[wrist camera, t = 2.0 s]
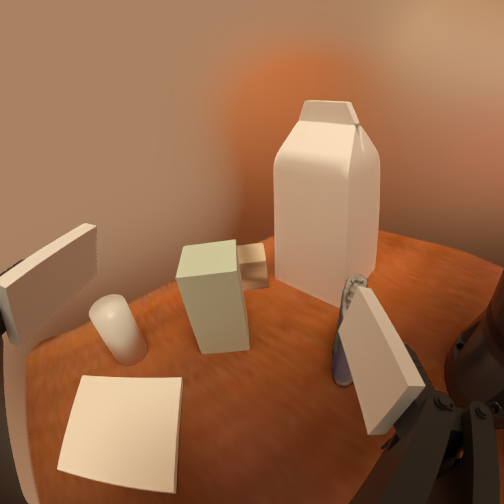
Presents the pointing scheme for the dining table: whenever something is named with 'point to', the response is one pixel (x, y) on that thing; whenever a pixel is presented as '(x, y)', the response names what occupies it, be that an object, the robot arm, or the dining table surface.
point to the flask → (339, 359)
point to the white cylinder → (118, 329)
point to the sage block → (214, 296)
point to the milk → (326, 201)
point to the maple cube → (253, 266)
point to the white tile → (125, 432)
